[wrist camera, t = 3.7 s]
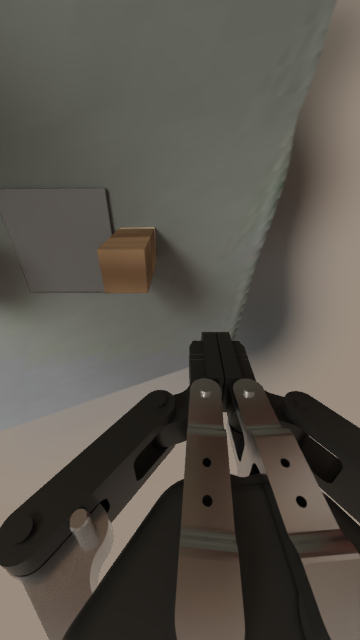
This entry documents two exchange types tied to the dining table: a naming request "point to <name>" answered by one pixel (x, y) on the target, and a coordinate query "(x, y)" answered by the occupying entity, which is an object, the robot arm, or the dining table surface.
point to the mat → (58, 236)
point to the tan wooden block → (128, 260)
